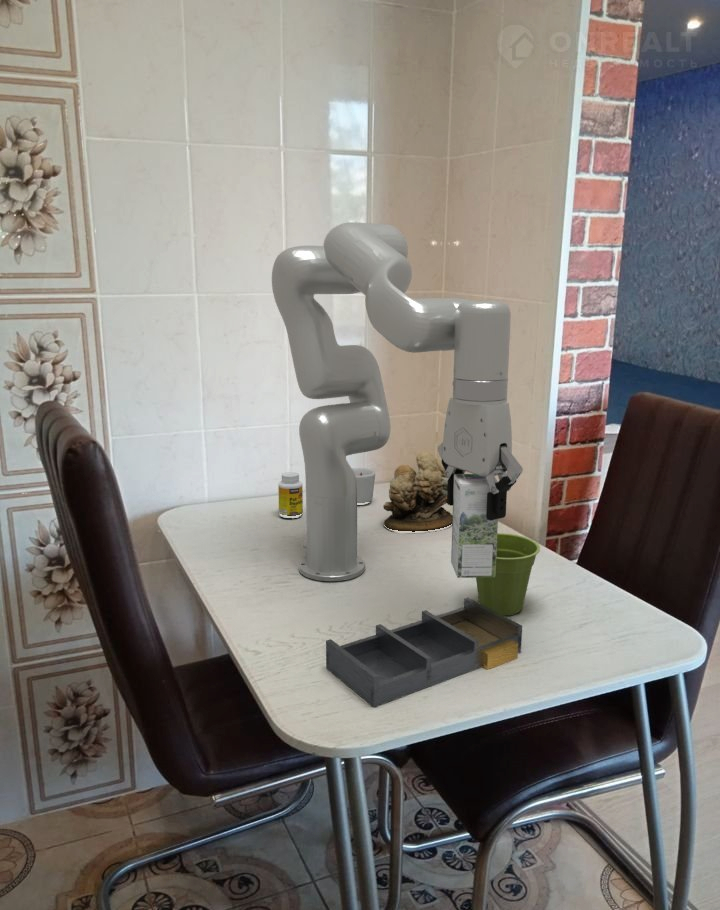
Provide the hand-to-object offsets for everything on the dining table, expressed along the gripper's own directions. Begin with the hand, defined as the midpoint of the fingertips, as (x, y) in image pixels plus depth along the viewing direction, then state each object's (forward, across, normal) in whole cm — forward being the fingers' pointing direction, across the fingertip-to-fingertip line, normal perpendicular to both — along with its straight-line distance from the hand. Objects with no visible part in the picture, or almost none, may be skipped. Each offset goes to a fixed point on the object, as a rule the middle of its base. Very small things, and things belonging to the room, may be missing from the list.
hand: (475, 510), depth 108 cm
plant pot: (+22, -7, +13) cm, 26 cm away
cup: (+21, -71, +25) cm, 78 cm away
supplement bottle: (+21, -70, +7) cm, 74 cm away
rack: (+21, 0, -9) cm, 23 cm away
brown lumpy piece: (+22, -49, +29) cm, 61 cm away
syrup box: (+10, 0, 0) cm, 10 cm away
